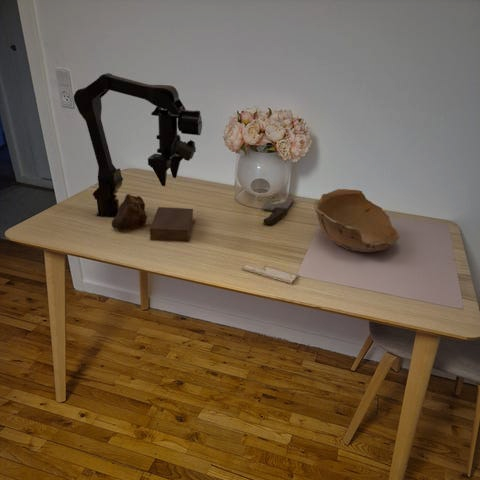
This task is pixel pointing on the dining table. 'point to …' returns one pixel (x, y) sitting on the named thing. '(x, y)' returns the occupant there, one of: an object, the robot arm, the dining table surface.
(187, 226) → the dark walnut box
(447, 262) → the dining table surface
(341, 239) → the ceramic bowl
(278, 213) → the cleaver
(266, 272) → the white plastic strip tool
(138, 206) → the decorative rock
